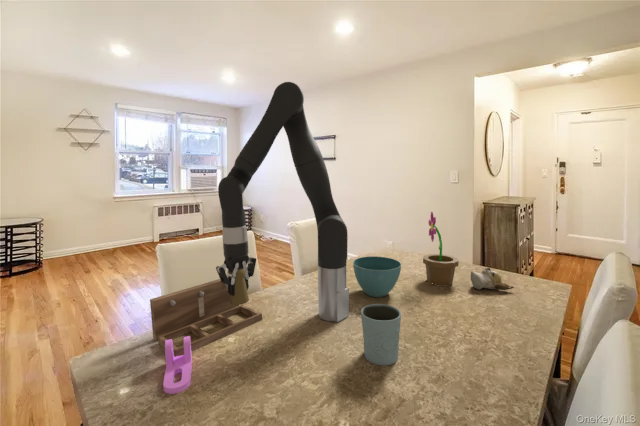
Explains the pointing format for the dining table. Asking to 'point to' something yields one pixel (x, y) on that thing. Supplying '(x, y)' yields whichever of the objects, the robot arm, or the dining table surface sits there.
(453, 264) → the flowerpot
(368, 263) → the teal bowl
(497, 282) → the ceramic sculpture
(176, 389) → the bracket
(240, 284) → the olive bulbous cylinder
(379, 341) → the light blue cup
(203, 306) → the wooden peg rack
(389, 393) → the dining table surface
